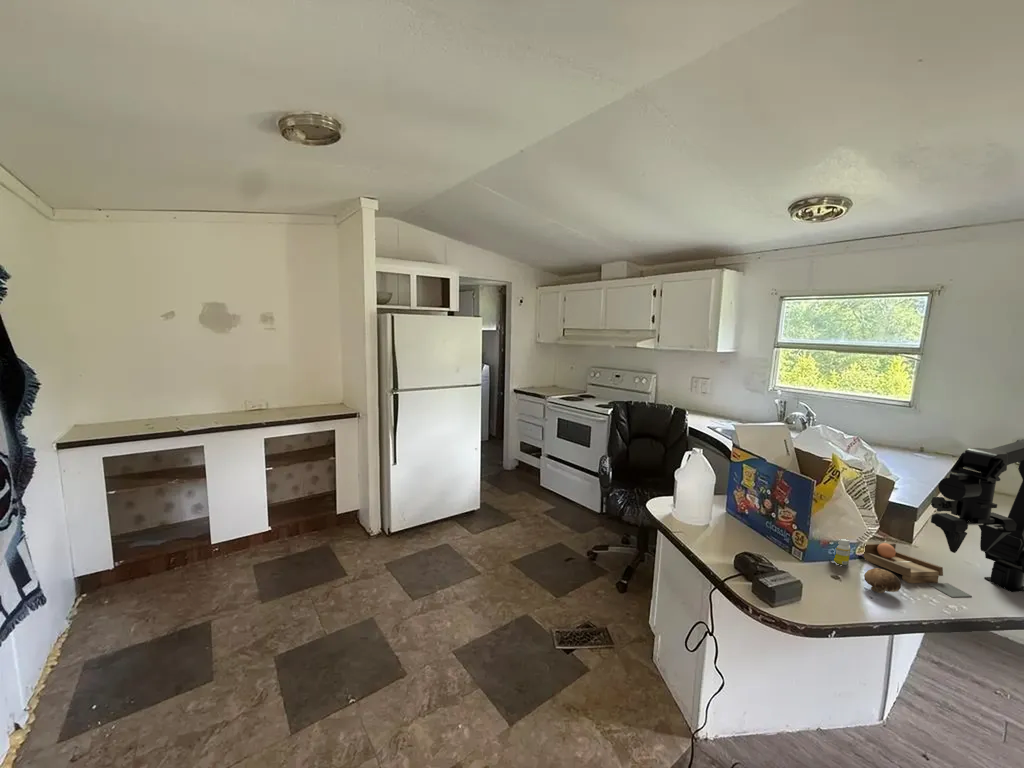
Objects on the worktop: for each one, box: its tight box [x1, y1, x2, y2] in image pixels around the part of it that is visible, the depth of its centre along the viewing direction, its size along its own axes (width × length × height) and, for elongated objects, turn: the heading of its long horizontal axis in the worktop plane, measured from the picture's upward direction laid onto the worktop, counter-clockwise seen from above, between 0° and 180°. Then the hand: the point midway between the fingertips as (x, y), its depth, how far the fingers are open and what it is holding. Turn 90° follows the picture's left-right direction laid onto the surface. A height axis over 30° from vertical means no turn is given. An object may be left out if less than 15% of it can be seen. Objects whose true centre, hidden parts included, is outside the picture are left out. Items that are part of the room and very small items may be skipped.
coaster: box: [927, 582, 973, 598], centre depth 118 cm, size 6×6×1 cm
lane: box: [864, 541, 944, 584], centre depth 129 cm, size 11×16×5 cm
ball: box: [877, 543, 897, 558], centre depth 133 cm, size 4×4×4 cm
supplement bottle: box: [834, 539, 851, 567], centre depth 131 cm, size 5×5×8 cm
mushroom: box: [863, 567, 902, 594], centre depth 116 cm, size 8×8×6 cm
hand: (968, 551), depth 116 cm, fingers open, 9 cm apart
